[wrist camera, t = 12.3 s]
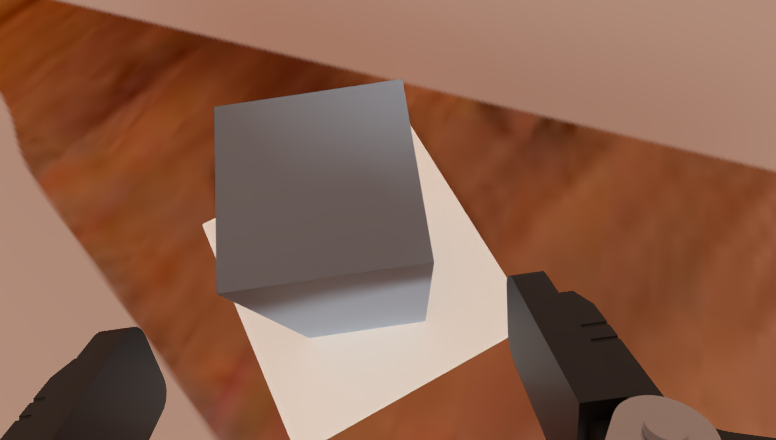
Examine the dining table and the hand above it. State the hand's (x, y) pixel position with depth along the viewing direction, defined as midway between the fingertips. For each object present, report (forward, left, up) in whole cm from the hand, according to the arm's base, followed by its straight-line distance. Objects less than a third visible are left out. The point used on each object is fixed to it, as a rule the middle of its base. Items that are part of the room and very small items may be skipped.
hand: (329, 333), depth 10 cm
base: (-1, -4, -14) cm, 14 cm away
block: (-1, -4, -10) cm, 11 cm away
